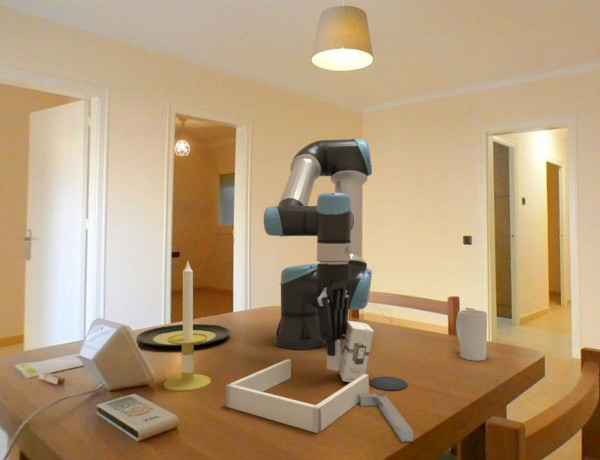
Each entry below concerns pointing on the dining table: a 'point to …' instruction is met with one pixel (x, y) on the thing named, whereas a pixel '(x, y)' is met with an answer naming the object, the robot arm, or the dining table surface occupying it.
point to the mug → (472, 334)
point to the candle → (187, 343)
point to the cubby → (289, 411)
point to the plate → (163, 333)
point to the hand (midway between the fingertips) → (333, 369)
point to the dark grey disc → (388, 383)
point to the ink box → (355, 350)
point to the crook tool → (388, 414)
